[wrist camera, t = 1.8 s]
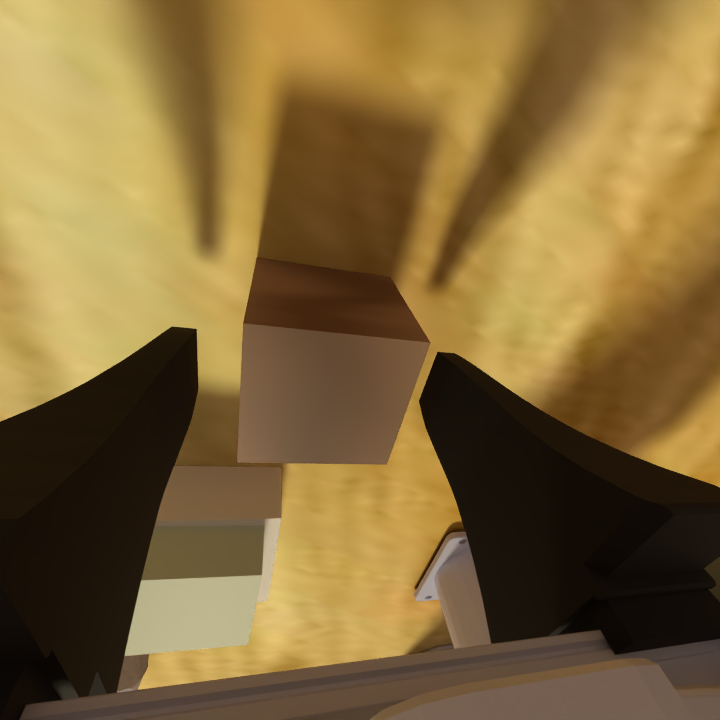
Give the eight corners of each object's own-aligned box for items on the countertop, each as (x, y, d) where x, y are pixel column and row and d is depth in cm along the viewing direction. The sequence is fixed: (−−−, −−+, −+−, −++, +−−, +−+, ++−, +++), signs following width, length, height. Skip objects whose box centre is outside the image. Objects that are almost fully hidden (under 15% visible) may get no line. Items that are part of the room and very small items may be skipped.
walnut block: (389, 276, 13) (430, 342, 9) (362, 379, 15) (386, 464, 12) (257, 256, 12) (243, 323, 8) (249, 370, 14) (237, 462, 10)
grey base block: (281, 461, 18) (281, 518, 15) (269, 544, 21) (267, 600, 19) (116, 458, 16) (84, 522, 13) (134, 549, 19) (112, 613, 17)
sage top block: (264, 525, 15) (262, 575, 14) (251, 597, 18) (247, 644, 17) (98, 526, 14) (72, 583, 12) (114, 605, 17) (95, 658, 15)
